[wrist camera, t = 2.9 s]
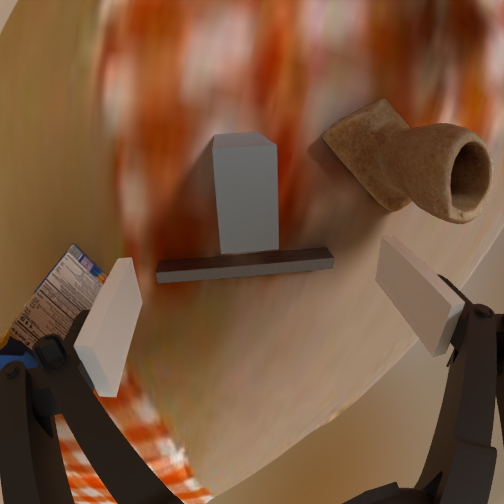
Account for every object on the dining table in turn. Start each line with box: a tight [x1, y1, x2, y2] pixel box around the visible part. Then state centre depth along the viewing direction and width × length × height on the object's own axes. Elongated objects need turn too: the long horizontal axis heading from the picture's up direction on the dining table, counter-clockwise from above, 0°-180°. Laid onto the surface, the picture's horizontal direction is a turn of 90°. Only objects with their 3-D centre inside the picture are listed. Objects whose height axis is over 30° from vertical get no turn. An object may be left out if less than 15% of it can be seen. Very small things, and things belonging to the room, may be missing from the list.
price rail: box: [156, 248, 334, 283], centre depth 40 cm, size 2×22×3 cm, turn 93°
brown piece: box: [323, 98, 494, 224], centre depth 30 cm, size 15×12×15 cm
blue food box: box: [0, 244, 108, 371], centre depth 31 cm, size 7×11×22 cm, turn 129°
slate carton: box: [212, 132, 279, 254], centre depth 31 cm, size 9×5×12 cm, turn 3°
